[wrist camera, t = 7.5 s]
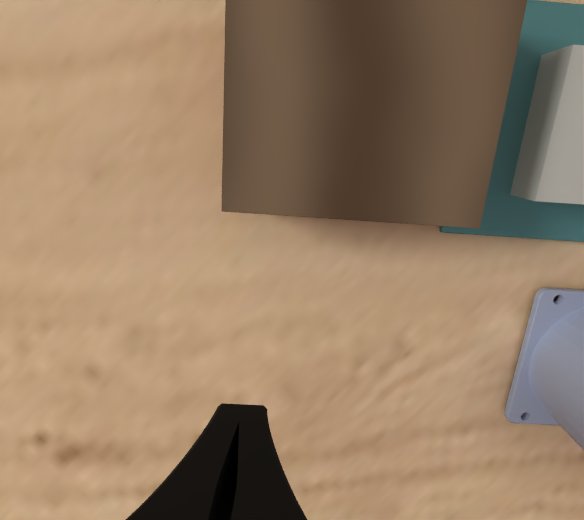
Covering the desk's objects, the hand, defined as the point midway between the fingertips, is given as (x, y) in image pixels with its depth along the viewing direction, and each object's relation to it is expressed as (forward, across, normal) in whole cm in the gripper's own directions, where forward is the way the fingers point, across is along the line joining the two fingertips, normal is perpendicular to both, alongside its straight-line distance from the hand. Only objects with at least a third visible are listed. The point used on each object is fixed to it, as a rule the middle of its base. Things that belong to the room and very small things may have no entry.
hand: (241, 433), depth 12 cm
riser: (+9, -4, -10) cm, 14 cm away
